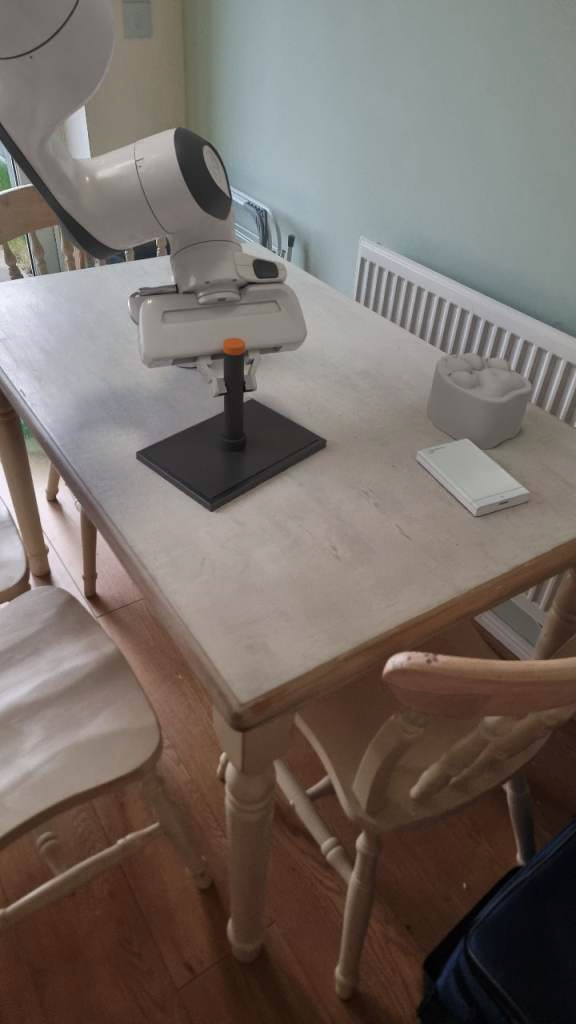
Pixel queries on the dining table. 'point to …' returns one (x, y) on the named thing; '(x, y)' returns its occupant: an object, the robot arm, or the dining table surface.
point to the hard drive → (472, 477)
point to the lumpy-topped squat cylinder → (478, 399)
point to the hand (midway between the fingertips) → (235, 393)
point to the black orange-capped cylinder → (233, 395)
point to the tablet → (230, 455)
